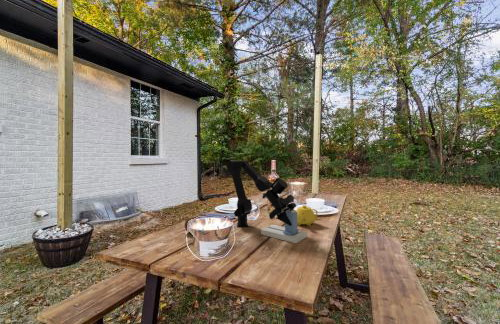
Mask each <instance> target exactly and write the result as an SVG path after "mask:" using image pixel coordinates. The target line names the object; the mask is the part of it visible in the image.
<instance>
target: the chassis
mask: <svg viewBox="0 0 500 324" xmlns="http://www.w3.org/2000/svg"><path fill="white" fill-rule="evenodd" d="M284 231H285V226H280V225H275V224H271V225H268V226H266V227H263V228H262V229H260V234H261V235H262V234H263V235H262V236H266V235H267V237H271V238H274V239H277V240H283V241H286V242H289V243H293V244H297V243H299V242H301V241H302V240H304V239H305V238H307V231H303V230H299V231H297V234H296V235H294V236H293V235H288V234H284V233H283V232H284Z"/></svg>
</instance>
